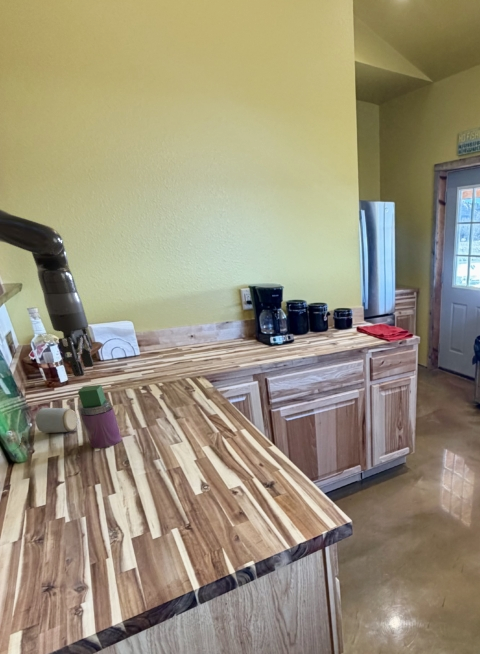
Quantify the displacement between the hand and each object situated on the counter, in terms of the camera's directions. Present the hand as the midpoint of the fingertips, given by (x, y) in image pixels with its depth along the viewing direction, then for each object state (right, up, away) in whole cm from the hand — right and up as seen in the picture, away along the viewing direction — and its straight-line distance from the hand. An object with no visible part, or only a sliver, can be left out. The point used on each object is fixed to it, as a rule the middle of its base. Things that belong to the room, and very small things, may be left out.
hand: (84, 371), depth 113 cm
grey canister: (-19, -16, +17) cm, 30 cm away
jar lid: (0, -9, +4) cm, 10 cm away
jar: (0, -20, +9) cm, 22 cm away
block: (0, -9, +4) cm, 9 cm away
